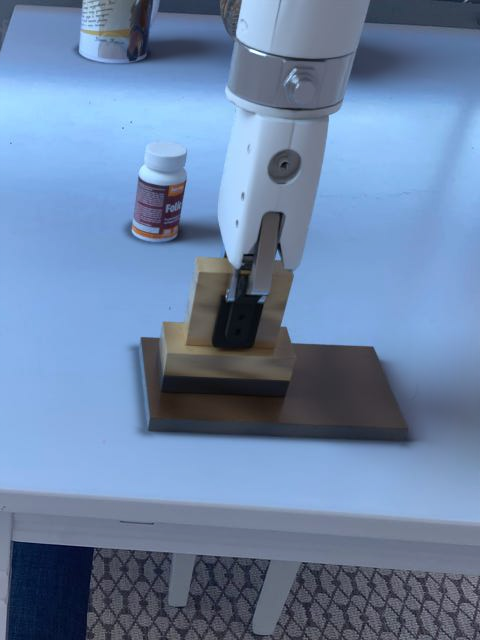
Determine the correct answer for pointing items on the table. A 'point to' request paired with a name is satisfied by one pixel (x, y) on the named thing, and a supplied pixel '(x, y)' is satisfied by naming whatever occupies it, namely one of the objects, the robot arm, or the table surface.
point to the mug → (116, 29)
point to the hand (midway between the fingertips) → (229, 333)
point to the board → (287, 400)
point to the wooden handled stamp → (226, 363)
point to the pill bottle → (160, 192)
